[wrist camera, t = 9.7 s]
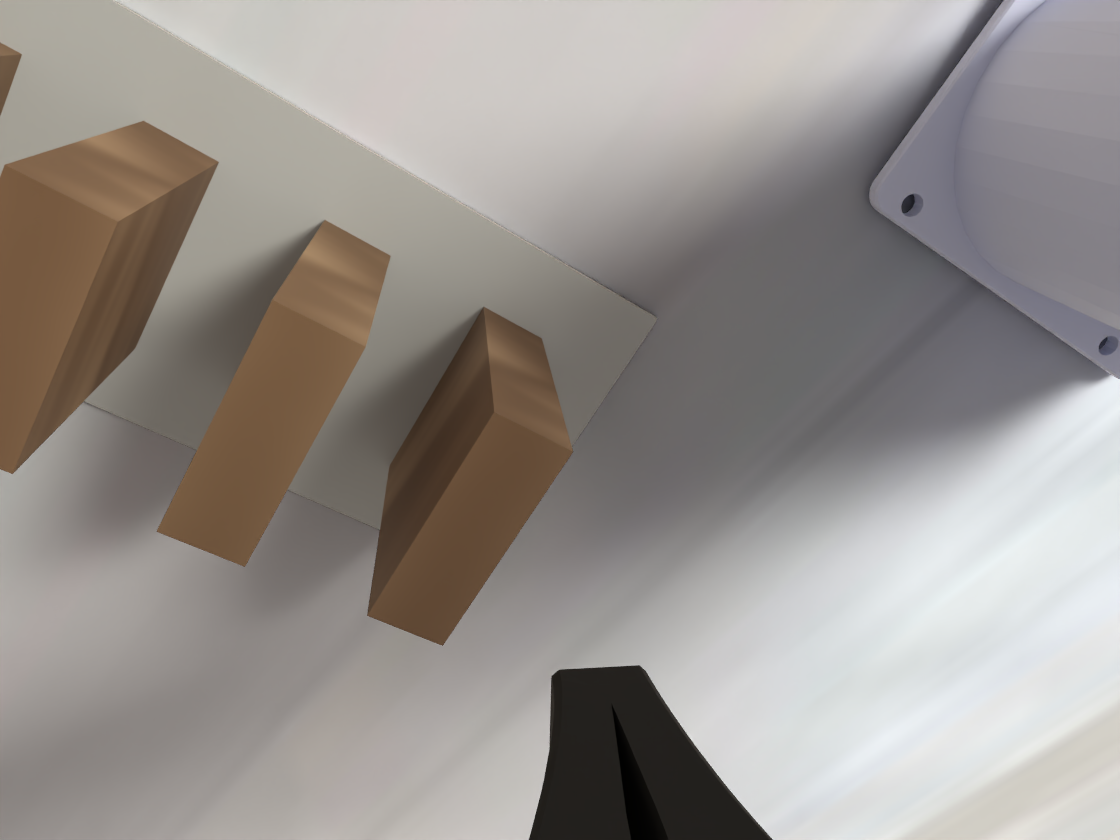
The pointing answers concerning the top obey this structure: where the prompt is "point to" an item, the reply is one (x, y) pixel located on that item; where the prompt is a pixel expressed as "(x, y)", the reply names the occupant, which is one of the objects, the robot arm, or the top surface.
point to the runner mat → (296, 247)
